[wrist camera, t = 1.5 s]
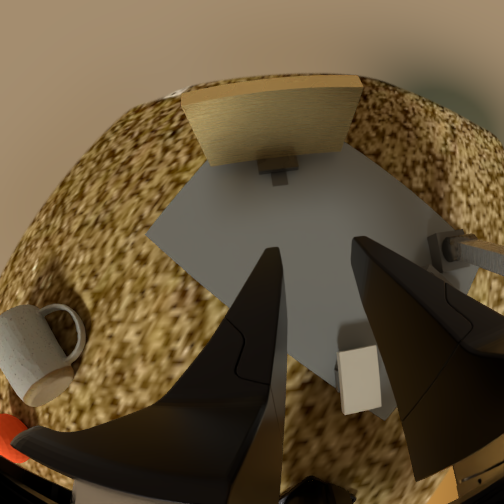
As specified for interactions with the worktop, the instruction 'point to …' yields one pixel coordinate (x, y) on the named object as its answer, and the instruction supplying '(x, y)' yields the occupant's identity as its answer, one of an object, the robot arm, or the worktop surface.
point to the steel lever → (474, 252)
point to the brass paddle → (273, 119)
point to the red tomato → (11, 437)
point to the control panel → (306, 244)
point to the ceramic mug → (36, 353)
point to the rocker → (359, 379)
